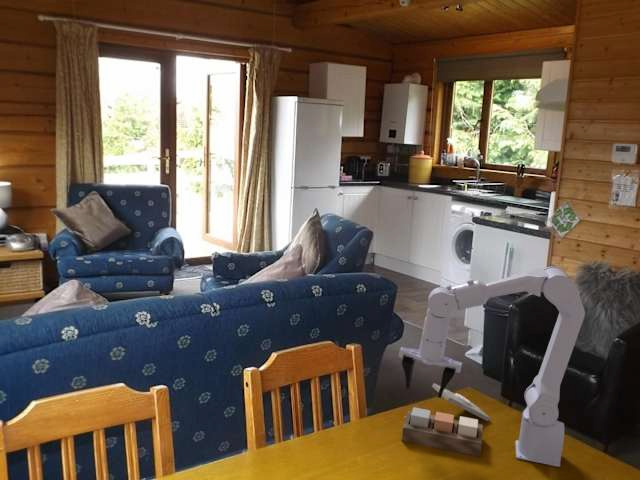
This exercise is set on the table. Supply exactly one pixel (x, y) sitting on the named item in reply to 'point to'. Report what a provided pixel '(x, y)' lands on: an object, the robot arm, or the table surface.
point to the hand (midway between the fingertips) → (423, 391)
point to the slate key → (420, 417)
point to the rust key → (443, 422)
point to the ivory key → (468, 426)
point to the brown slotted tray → (442, 437)
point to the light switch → (462, 402)
